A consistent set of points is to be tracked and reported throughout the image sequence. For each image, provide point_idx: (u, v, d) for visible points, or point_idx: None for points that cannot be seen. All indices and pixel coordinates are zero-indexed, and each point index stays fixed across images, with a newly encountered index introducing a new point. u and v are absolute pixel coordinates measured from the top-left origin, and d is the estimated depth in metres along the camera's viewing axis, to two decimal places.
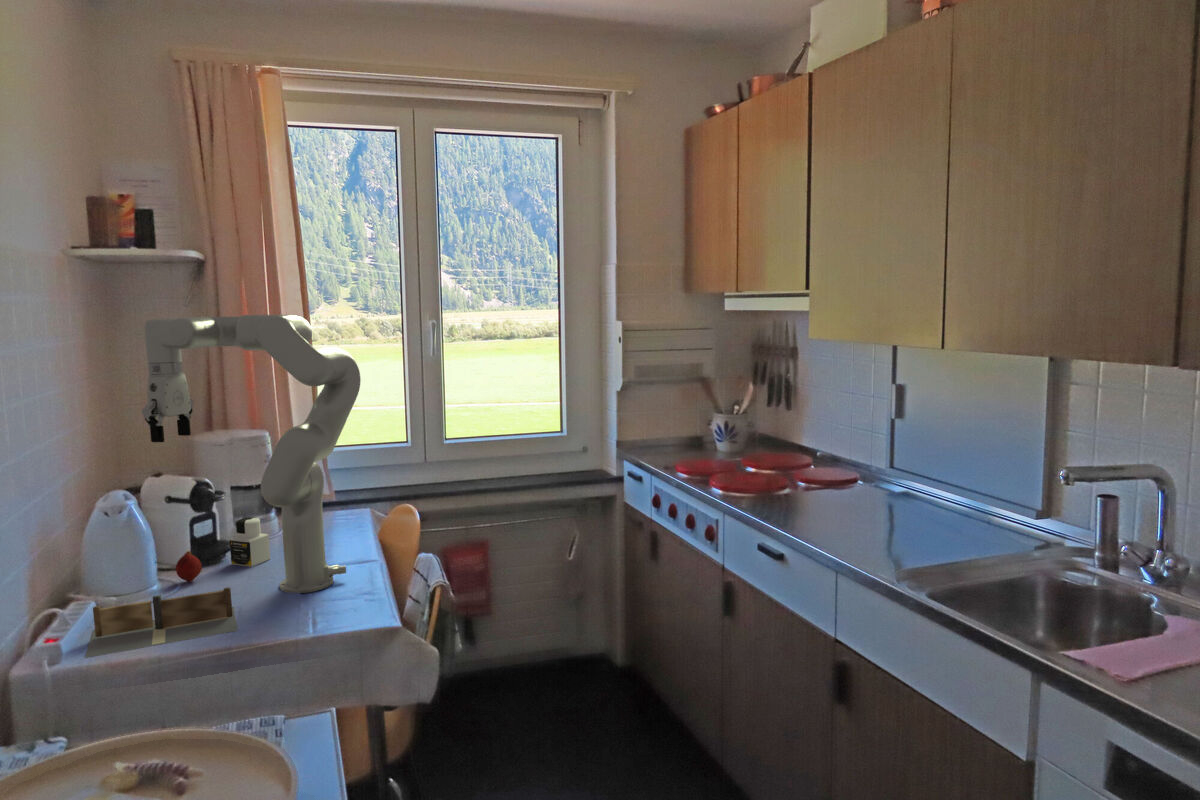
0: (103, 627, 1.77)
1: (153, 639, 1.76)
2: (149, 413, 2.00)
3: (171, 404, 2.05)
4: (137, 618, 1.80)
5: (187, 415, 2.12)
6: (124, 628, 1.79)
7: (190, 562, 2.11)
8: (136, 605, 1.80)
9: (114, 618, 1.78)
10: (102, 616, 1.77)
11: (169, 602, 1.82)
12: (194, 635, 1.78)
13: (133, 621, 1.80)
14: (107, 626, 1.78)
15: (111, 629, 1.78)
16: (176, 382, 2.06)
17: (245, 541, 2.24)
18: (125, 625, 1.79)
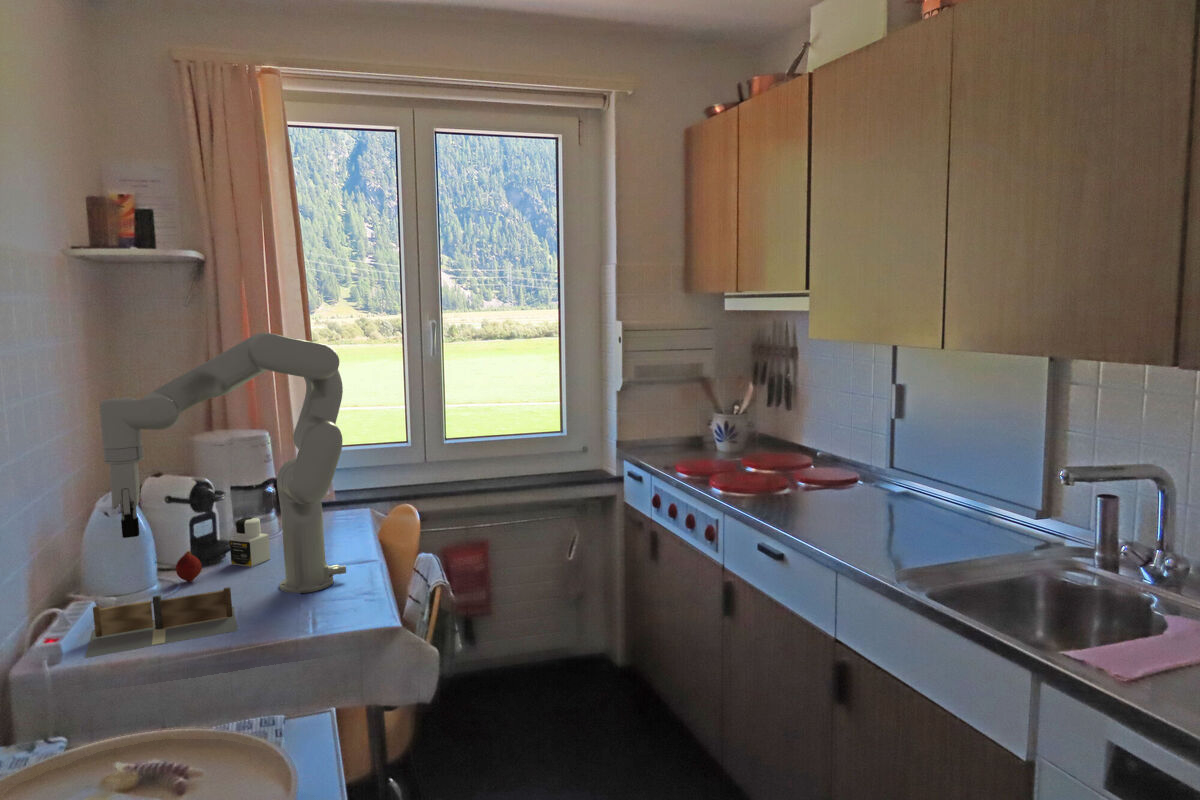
0: (103, 627, 1.77)
1: (153, 639, 1.76)
2: None
3: None
4: (137, 618, 1.80)
5: None
6: (124, 628, 1.79)
7: (190, 562, 2.11)
8: (136, 605, 1.80)
9: (114, 618, 1.78)
10: (102, 616, 1.77)
11: (169, 602, 1.82)
12: (194, 635, 1.78)
13: (133, 621, 1.80)
14: (107, 626, 1.78)
15: (111, 629, 1.78)
16: None
17: (245, 541, 2.24)
18: (125, 625, 1.79)
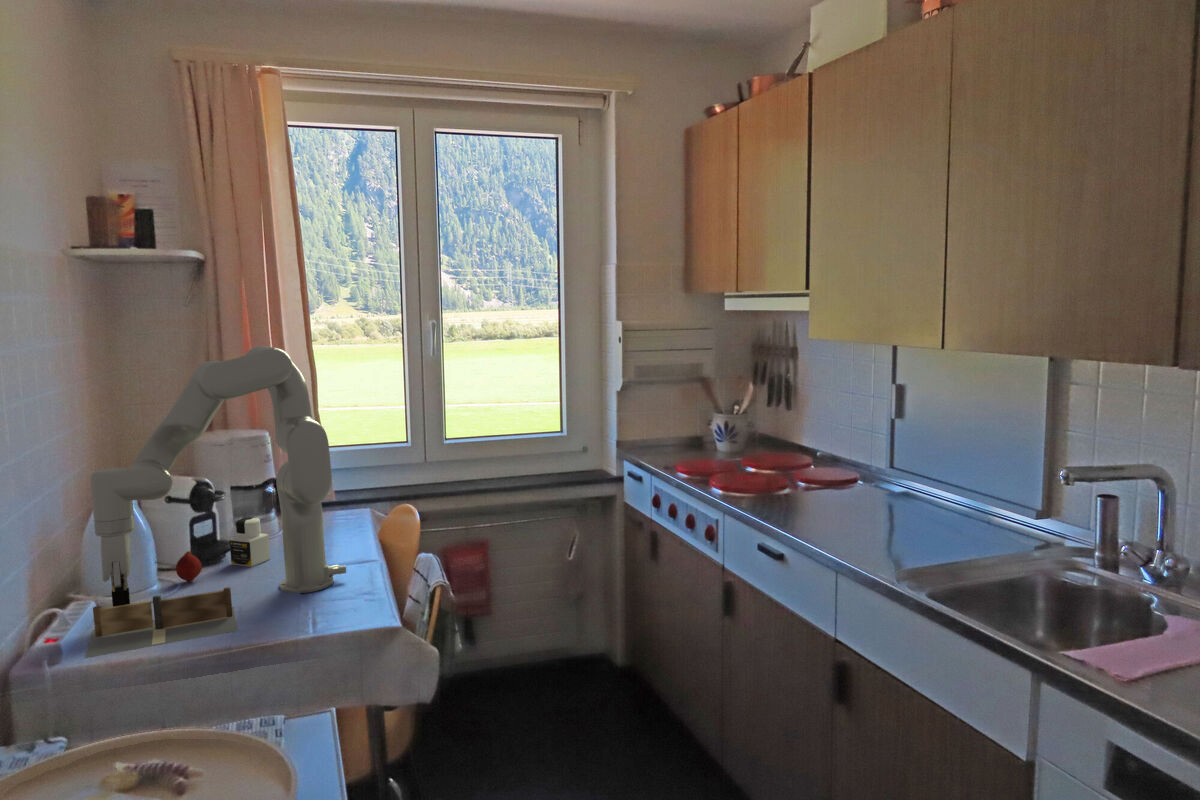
0: (103, 627, 1.77)
1: (153, 639, 1.76)
2: None
3: None
4: (137, 618, 1.80)
5: None
6: (124, 628, 1.79)
7: (190, 562, 2.11)
8: (136, 605, 1.80)
9: (114, 618, 1.78)
10: (102, 616, 1.77)
11: (169, 602, 1.82)
12: (194, 635, 1.78)
13: (133, 621, 1.80)
14: (107, 626, 1.78)
15: (111, 629, 1.78)
16: None
17: (245, 541, 2.24)
18: (125, 625, 1.79)
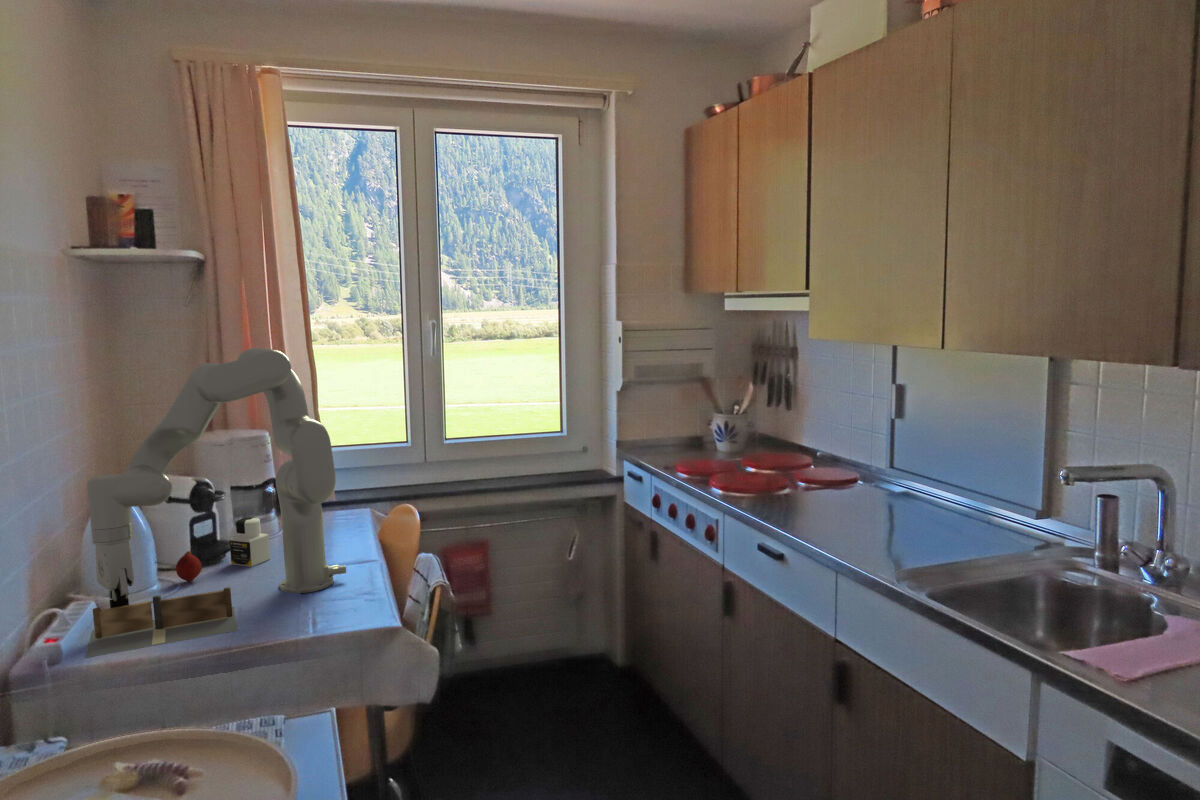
0: (103, 628, 1.77)
1: (153, 639, 1.76)
2: None
3: (98, 571, 1.80)
4: (138, 619, 1.80)
5: (112, 595, 1.79)
6: (124, 629, 1.79)
7: (190, 562, 2.11)
8: (136, 605, 1.79)
9: (114, 619, 1.77)
10: (102, 617, 1.76)
11: (169, 602, 1.82)
12: (194, 635, 1.78)
13: (133, 622, 1.79)
14: (107, 627, 1.77)
15: (111, 630, 1.77)
16: (99, 550, 1.77)
17: (245, 541, 2.24)
18: (125, 626, 1.79)
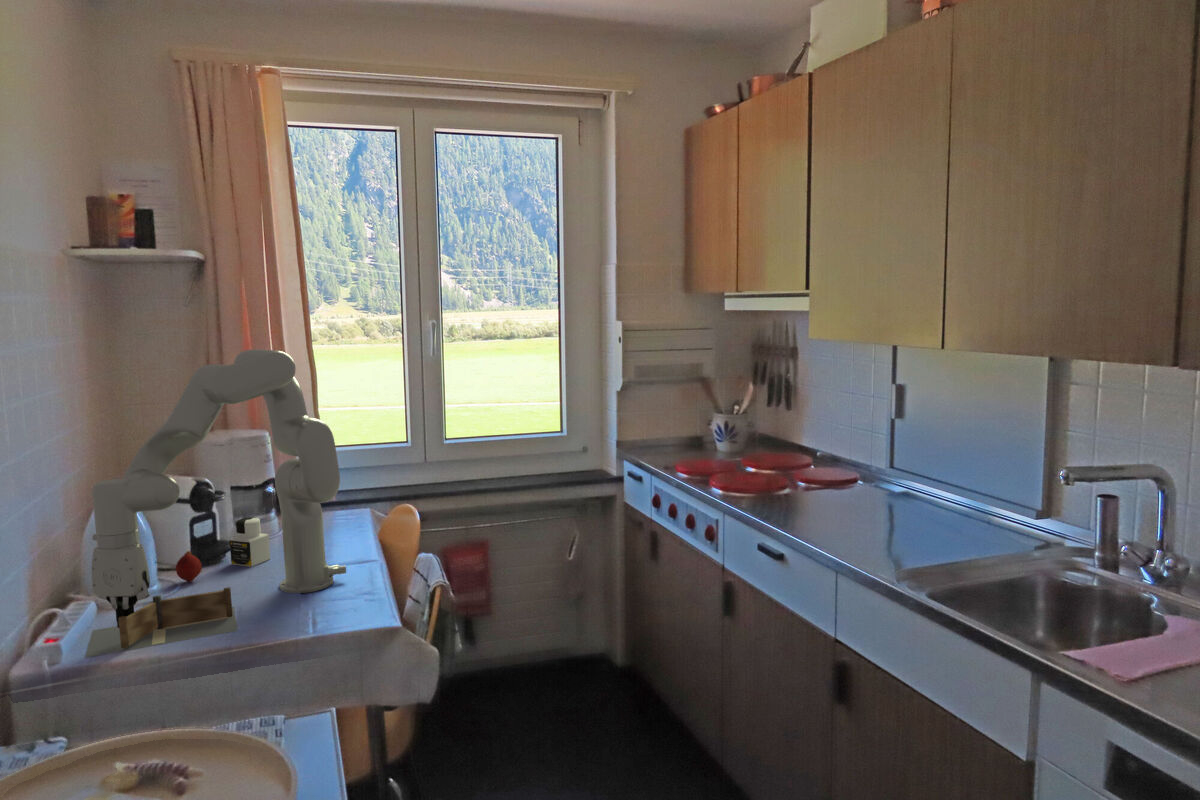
0: (129, 636, 1.72)
1: (153, 639, 1.76)
2: (103, 596, 1.75)
3: (101, 582, 1.72)
4: (149, 621, 1.78)
5: (124, 602, 1.74)
6: (141, 633, 1.76)
7: (190, 562, 2.11)
8: (147, 608, 1.78)
9: (135, 625, 1.74)
10: (128, 625, 1.72)
11: (169, 602, 1.82)
12: (194, 635, 1.78)
13: (146, 625, 1.77)
14: (131, 634, 1.73)
15: (134, 637, 1.74)
16: (110, 558, 1.71)
17: (245, 541, 2.24)
18: (142, 630, 1.76)
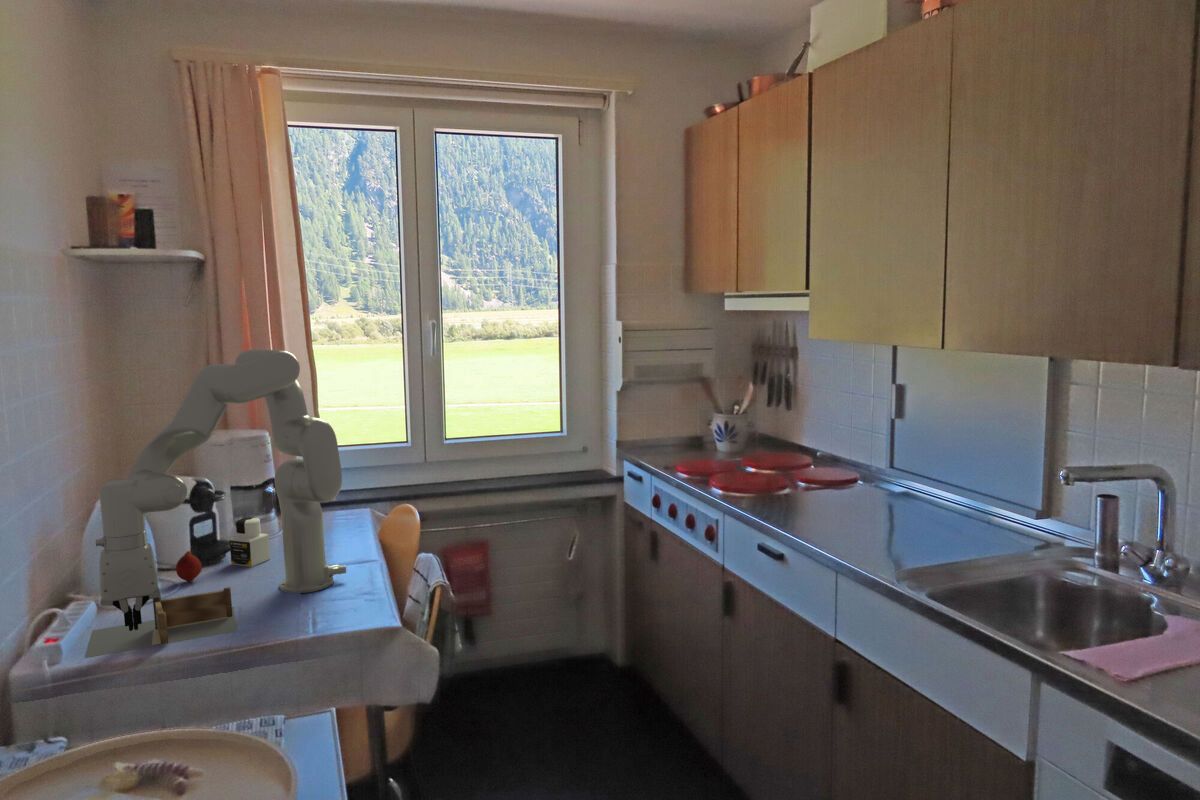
0: None
1: (153, 639, 1.76)
2: (108, 602, 1.70)
3: (114, 587, 1.69)
4: None
5: (137, 603, 1.72)
6: None
7: (190, 562, 2.11)
8: None
9: None
10: None
11: (169, 602, 1.82)
12: (194, 635, 1.78)
13: None
14: None
15: None
16: (126, 559, 1.69)
17: (245, 541, 2.24)
18: None
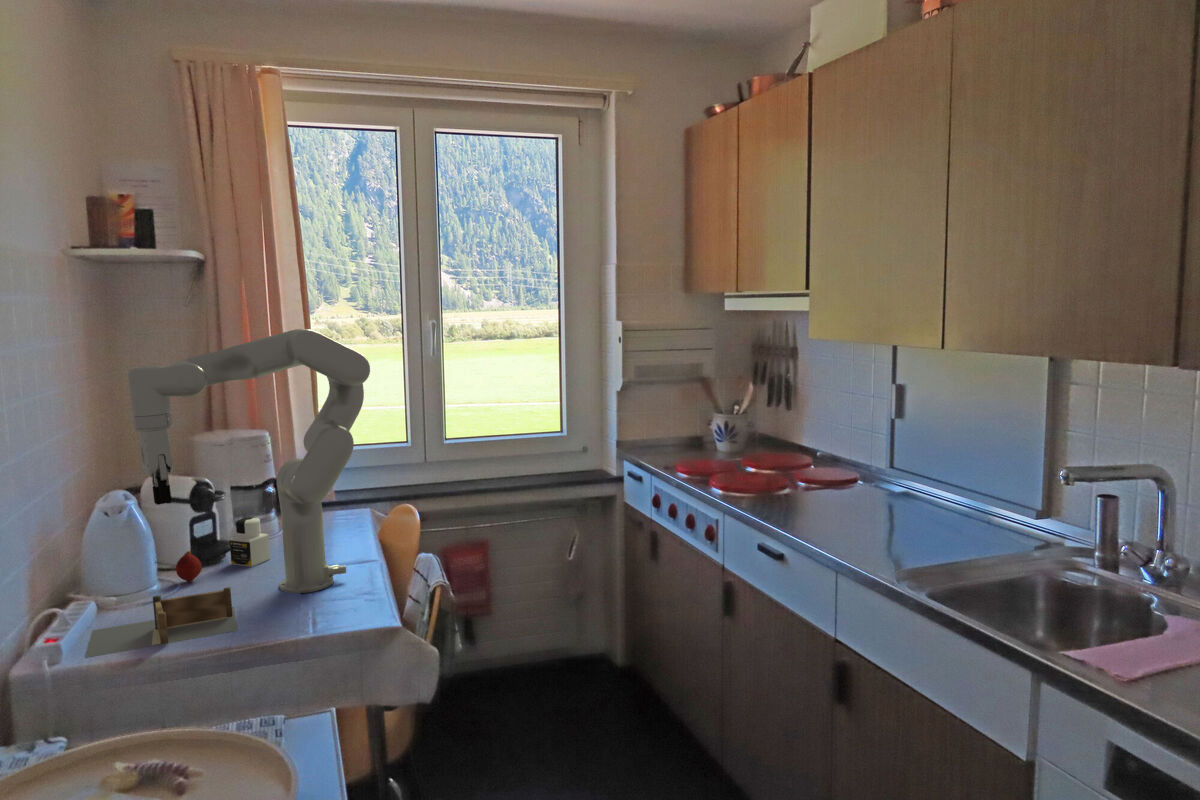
0: None
1: (153, 639, 1.76)
2: None
3: (141, 459, 1.88)
4: None
5: (154, 481, 1.87)
6: None
7: (190, 562, 2.11)
8: None
9: None
10: None
11: (169, 602, 1.82)
12: (194, 635, 1.78)
13: None
14: None
15: None
16: (140, 437, 1.86)
17: (245, 541, 2.24)
18: None
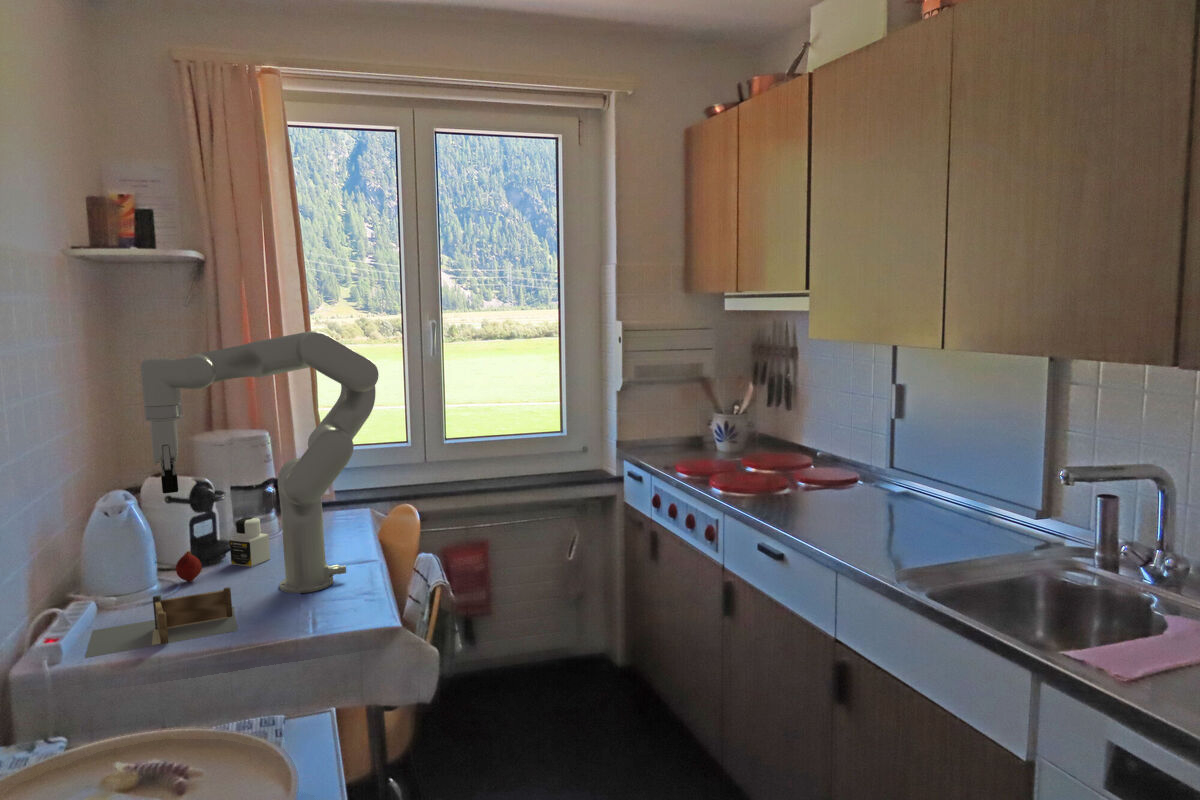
0: None
1: (153, 639, 1.76)
2: None
3: None
4: None
5: None
6: None
7: (190, 562, 2.11)
8: None
9: None
10: None
11: (169, 602, 1.82)
12: (194, 635, 1.78)
13: None
14: None
15: None
16: None
17: (245, 541, 2.24)
18: None
